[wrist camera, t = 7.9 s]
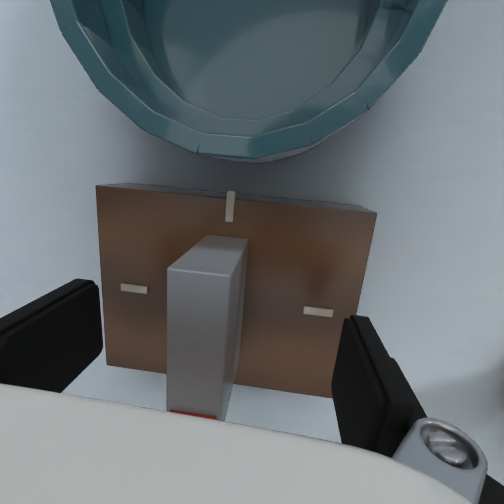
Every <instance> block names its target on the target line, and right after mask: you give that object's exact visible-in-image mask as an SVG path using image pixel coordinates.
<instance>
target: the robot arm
mask: <svg viewBox="0 0 504 504" xmlns="http://www.w3.org/2000/svg"><path fill="white" fill-rule="evenodd" d="M102 348H103V337H102V324H101V311H100V298H99V288H98V286H97V285H95V283H94V281H92V280H85V279H74V280H72V281H71V282H69V283H67V284H65V285H63V286H61V287H59V288H57V289H55V290H53V291H52V292H50V293H48V294H46V295H44V296H42V297H40V298H38V299H36V300H34V301H32V302H31V303H29V304H27V305H25V306H23V307H21V308H19V309H17V310H15V311H13V312H11V313H10V314H8V315H6V316H4V317H2V318H0V504H504V486H503V485H502V484H500V483H499V482H497V481H496V480H494V479H493V478H491V477H490V476H489V475H487V474H486V473H487V470H488V468H487V460H486V457H485V455H484V453H483V451H482V450H481V449H480V447H479V446H478V445H477V444H476V442H475V441H473V440H472V439H471V438H470V437H469V436H468V435H467V434H466V433H464V432H463V431H461V430H460V429H458V428H457V427H455V426H453V425H451V424H449V423H447V422H445V421H442V420H438V419H435V418H428V417H427V416H426V414H425V412H424V410H423V408H422V407H421V405H420V403H419V401H418V399H417V398H416V396H415V394H414V392H413V391H412V389H411V387H410V385H409V383H408V382H407V380H406V378H405V376H404V374H403V373H402V371H401V369H400V367H399V365H398V364H397V362H396V361H395V359H393V358H390V356H389V355H388V353H387V351H386V349H385V347H384V345H383V343H382V342H381V340H380V338H379V336H378V334H377V332H376V330H375V329H374V327H373V325H372V323H371V321H370V319H369V318H368V317H364V316H357V315H351V316H350V318H345V319H344V322H343V326H342V331H341V336H340V341H339V346H338V351H337V356H336V361H335V366H334V371H333V376H332V382H331V390H332V396H333V401H334V406H335V411H336V416H337V421H338V426H339V431H340V436H341V442H342V444H341V443H336V442H331V441H327V440H322V439H317V438H312V437H308V436H303V435H297V434H291V433H286V432H280V431H275V430H269V429H263V428H258V427H252V426H247V425H241V424H235V423H230V422H224V421H218V420H213V419H207V418H202V417H196V416H190V415H184V414H179V413H173V412H167V411H161V410H156V409H150V408H144V407H138V406H133V405H127V404H121V403H115V402H109V401H103V400H98V399H92V398H86V397H80V396H74V395H68V394H62V393H61V392H62V391H63V390H64V389H65V388H66V387H67V386H68V385H69V384H70V383H71V382H72V381H73V380H74V379H75V378H76V377H77V376H78V375H79V374H80V373H81V372H82V371H83V370H84V369H85V368H86V367H87V366H88V365H89V364H90V363H91V362H92V361H94V360H95V359H96V358H97V357H98V356H99V354H100V353H101V351H102Z"/></svg>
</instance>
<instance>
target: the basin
mask: <svg viewBox="0 0 504 504" xmlns="http://www.w3.org/2000/svg"><path fill="white" fill-rule="evenodd" d="M447 1H448V0H50V2H51V5H52V8H53V11H54V14H55V17H56V20H57V23H58V26H59V29H60V30H61V32H62V35H63V37H64V38H65V40H66V41H67V43H68V44H69V46H70V47H71V49H72V51H73V52H74V54H75V55H76V57H77V58H78V60H79V61H80V63H81V65H82V66H83V68H84V69H85V71H86V72H87V74H88V75H89V77H90V78H91V80H92V82H93V83H94V85H95V86H96V88H97V89H98V91H99V92H100V93H101V94H103V95H104V96H105V97H106V98H107V99H108V100H109V101H110V102H112V103H113V104H114V105H115V106H116V107H117V108H118V109H120V110H121V111H122V112H123V113H124V114H125V115H126V116H127V117H129V118H130V119H131V120H132V121H133V122H134V123H135V124H137V125H138V126H139V127H140V128H141V129H142V130H144V131H145V132H147V133H149V134H152V135H154V136H156V137H158V138H161V139H163V140H165V141H167V142H170V143H172V144H174V145H176V146H179V147H181V148H183V149H186V150H188V151H190V152H192V153H195V154H198V155H203V156H208V157H212V158H217V159H221V160H232V161H243V162H254V163H265V162H269V161H273V160H277V159H281V158H285V157H289V156H293V155H297V154H301V153H303V152H306V151H308V150H309V149H311V148H313V147H314V146H316V145H317V144H319V143H321V142H322V141H324V140H326V139H327V138H329V137H330V136H332V135H334V134H335V133H337V132H339V131H340V130H342V129H343V128H345V127H346V126H347V125H349V124H350V123H352V122H353V121H354V120H356V119H357V118H358V117H360V116H361V115H362V114H364V113H365V112H366V111H368V110H369V109H370V108H371V107H372V106H373V105H374V104H375V103H376V102H377V101H378V99H379V98H380V97H381V96H382V95H383V94H384V93H385V92H386V91H387V90H388V88H389V87H390V86H391V85H392V84H393V83H394V82H395V81H396V80H397V78H398V77H399V76H400V75H401V74H402V73H403V72H404V71H405V70H406V69H407V67H408V66H409V65H410V64H411V63H412V62H413V61H414V60H415V59H416V58H417V56H418V55H419V53H420V52H421V51H422V49H423V47H424V45H425V43H426V41H427V39H428V37H429V35H430V33H431V31H432V29H433V28H434V26H435V24H436V22H437V20H438V18H439V16H440V14H441V12H442V10H443V8H444V6H445V4H446V2H447Z"/></svg>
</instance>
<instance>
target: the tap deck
mask: <svg viewBox="0 0 504 504" xmlns="http://www.w3.org/2000/svg"><path fill="white" fill-rule="evenodd" d="M96 200H97V217H98V233H99V249H100V265H101V282H102V298H103V314H104V330H105V347H106V363H107V365H110V366H117V367H123V368H130V369H137V370H144V371H150V372H157V373H164V374H167V268H168V267H169V266H171V265H172V264H173V263H174V262H175V261H177V260H178V259H179V258H180V257H181V256H183V255H184V254H185V253H186V252H187V251H189V250H190V249H191V248H192V247H193V246H195V245H196V244H197V243H198V242H199V241H201V240H202V239H203V238H204V237H205V236H207V235H217V236H227V237H236V238H245V239H249V246H248V258H247V270H246V282H245V294H244V306H243V318H242V330H241V342H240V354H239V361H238V365H237V369H236V373H235V378H234V382H233V384H238V385H245V386H252V387H259V388H266V389H272V390H279V391H286V392H293V393H299V394H306V395H313V396H320V397H326V398H333V396H332V390H331V382H332V376H333V371H334V366H335V361H336V356H337V351H338V346H339V341H340V336H341V331H342V326H343V322H344V319H345V318H350V316H351V315H356V313H357V308H358V303H359V298H360V294H361V289H362V284H363V279H364V274H365V269H366V265H367V260H368V255H369V250H370V245H371V241H372V236H373V231H374V226H375V221H376V217H377V213H375V212H373V211H371V210H368V209H366V208H364V207H361V206H359V205H349V204H339V203H328V202H318V201H308V200H298V199H287V198H277V197H267V196H257V195H246V194H236V193H235V191H229V190H228V191H227V193H226V192H216V191H205V190H195V189H185V188H174V187H164V186H154V185H144V184H133V183H121V184H106V185H96Z"/></svg>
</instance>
